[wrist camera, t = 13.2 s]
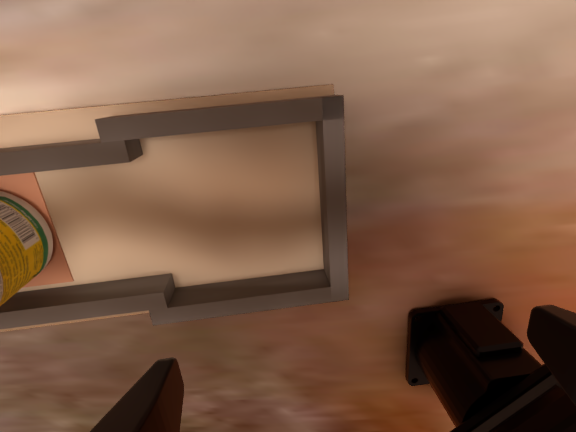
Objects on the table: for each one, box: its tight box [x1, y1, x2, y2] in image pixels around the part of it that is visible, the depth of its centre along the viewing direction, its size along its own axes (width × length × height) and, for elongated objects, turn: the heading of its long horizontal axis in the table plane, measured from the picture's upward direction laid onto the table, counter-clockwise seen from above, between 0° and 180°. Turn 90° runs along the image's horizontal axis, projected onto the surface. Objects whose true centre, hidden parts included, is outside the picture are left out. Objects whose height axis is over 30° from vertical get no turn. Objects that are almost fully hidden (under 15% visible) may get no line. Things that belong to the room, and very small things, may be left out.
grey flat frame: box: [0, 84, 349, 332], centre depth 18 cm, size 12×22×3 cm, turn 95°
